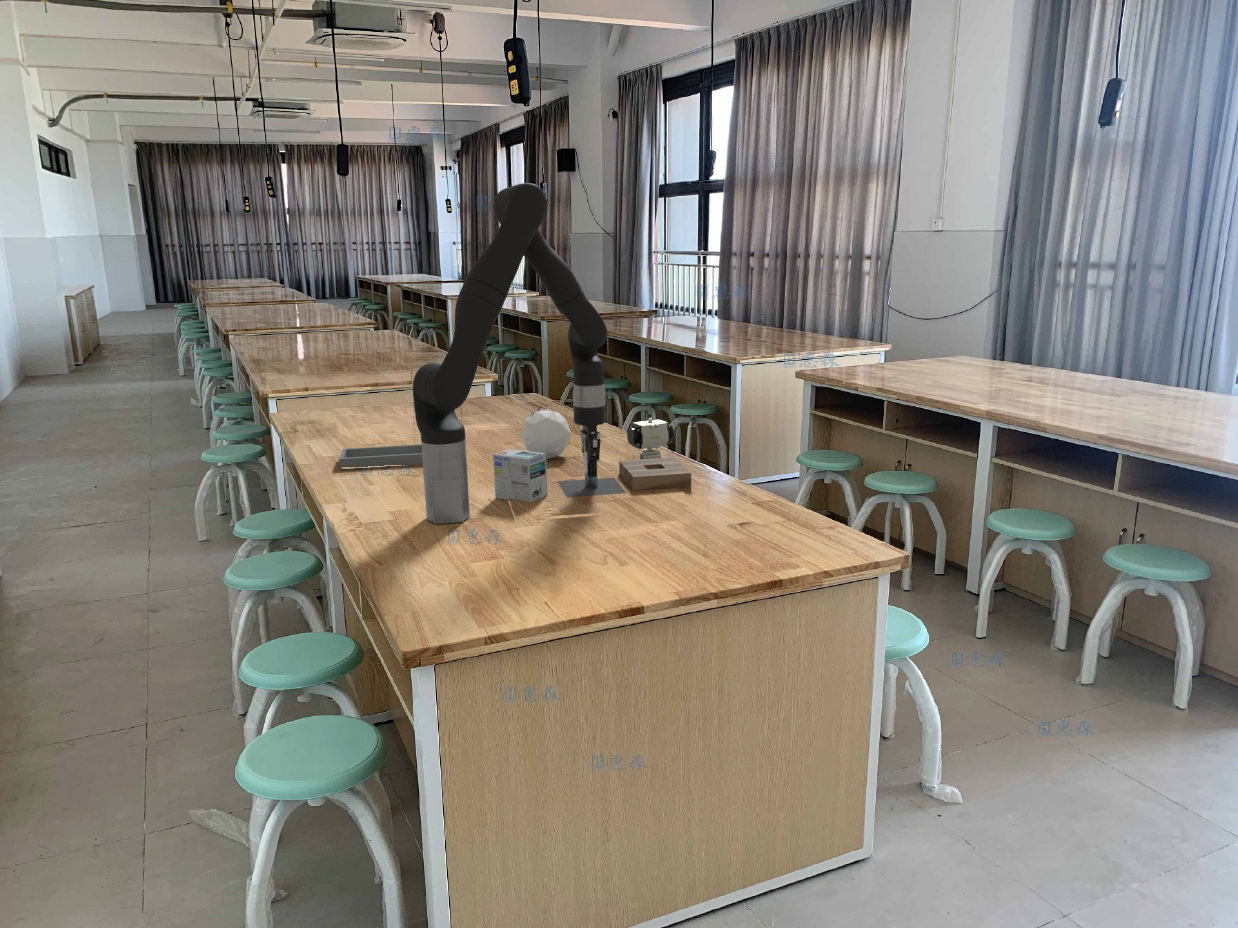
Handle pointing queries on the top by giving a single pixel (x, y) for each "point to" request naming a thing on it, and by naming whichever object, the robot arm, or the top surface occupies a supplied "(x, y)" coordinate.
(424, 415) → the robot arm
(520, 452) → the light bulb box
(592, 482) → the steel peg
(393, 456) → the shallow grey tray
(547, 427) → the geodesic sphere
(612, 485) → the rubber mat
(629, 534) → the top surface
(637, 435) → the pneumatic valve
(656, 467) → the hole block
